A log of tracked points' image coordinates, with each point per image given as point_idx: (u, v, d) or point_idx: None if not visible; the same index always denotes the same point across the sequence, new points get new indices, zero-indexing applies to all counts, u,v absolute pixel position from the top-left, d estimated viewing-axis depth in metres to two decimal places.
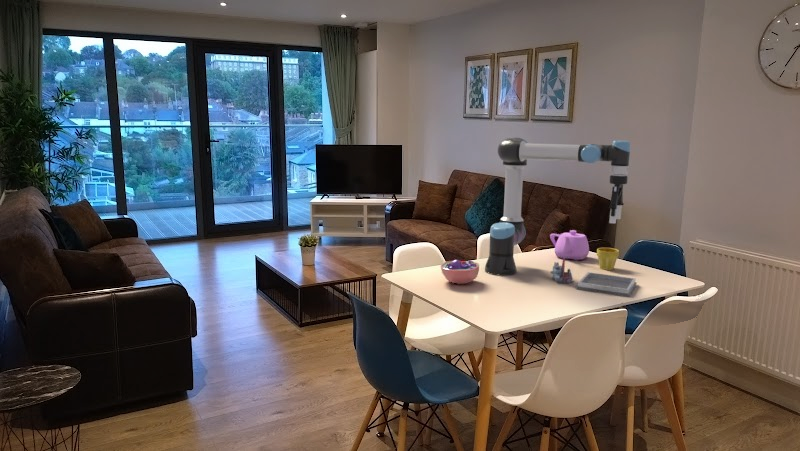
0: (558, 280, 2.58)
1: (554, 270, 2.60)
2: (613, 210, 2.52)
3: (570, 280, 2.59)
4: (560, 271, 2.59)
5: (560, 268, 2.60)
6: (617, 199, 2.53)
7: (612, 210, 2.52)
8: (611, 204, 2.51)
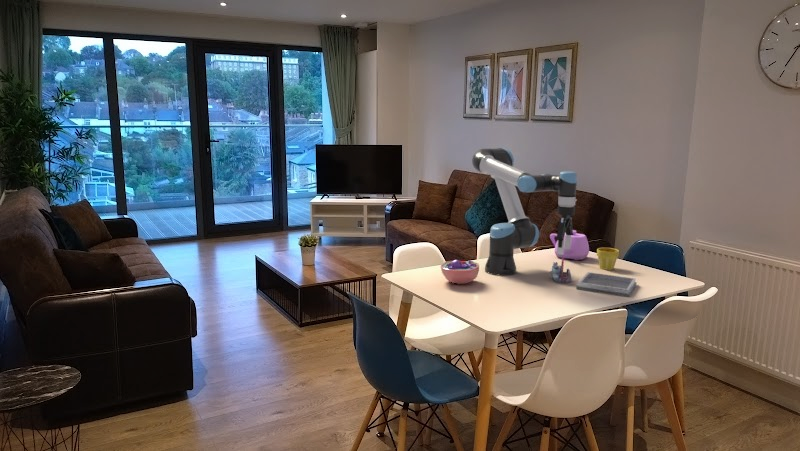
0: (557, 280, 2.59)
1: (553, 270, 2.60)
2: (560, 241, 2.51)
3: (569, 280, 2.59)
4: (559, 271, 2.59)
5: (559, 268, 2.60)
6: (564, 230, 2.52)
7: (559, 241, 2.51)
8: (558, 235, 2.50)
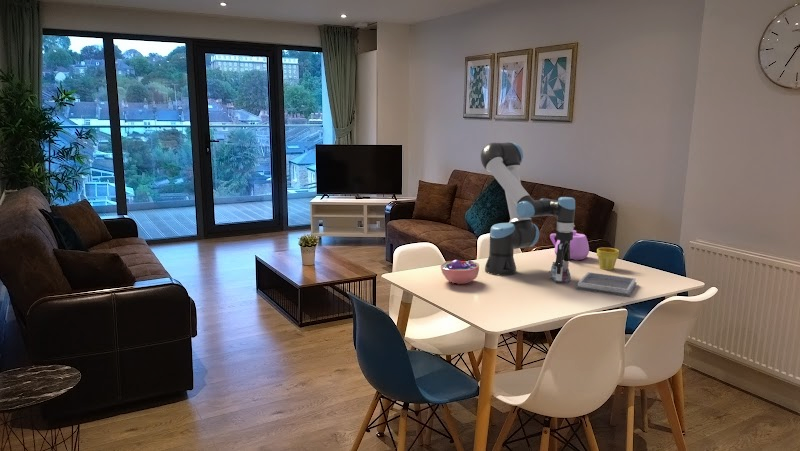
0: (556, 280, 2.59)
1: (552, 270, 2.60)
2: (559, 268, 2.54)
3: (568, 280, 2.59)
4: None
5: None
6: (563, 256, 2.55)
7: (558, 268, 2.55)
8: (556, 262, 2.53)
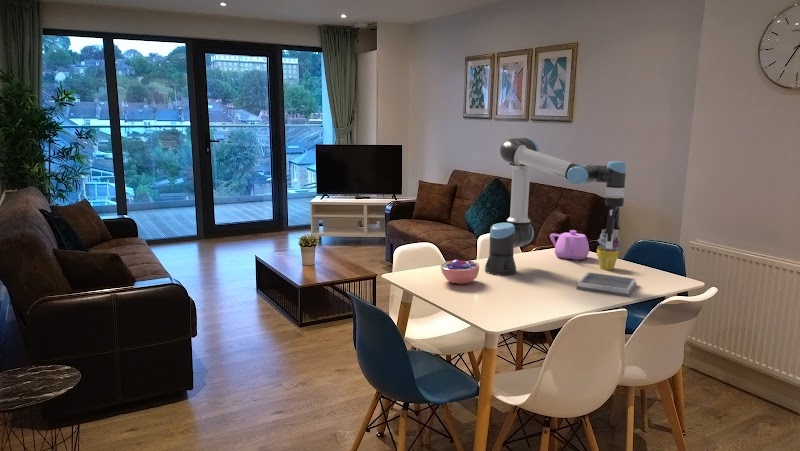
0: None
1: (602, 238, 2.49)
2: (609, 235, 2.43)
3: (619, 248, 2.47)
4: None
5: None
6: (613, 223, 2.43)
7: (608, 235, 2.43)
8: (607, 229, 2.41)
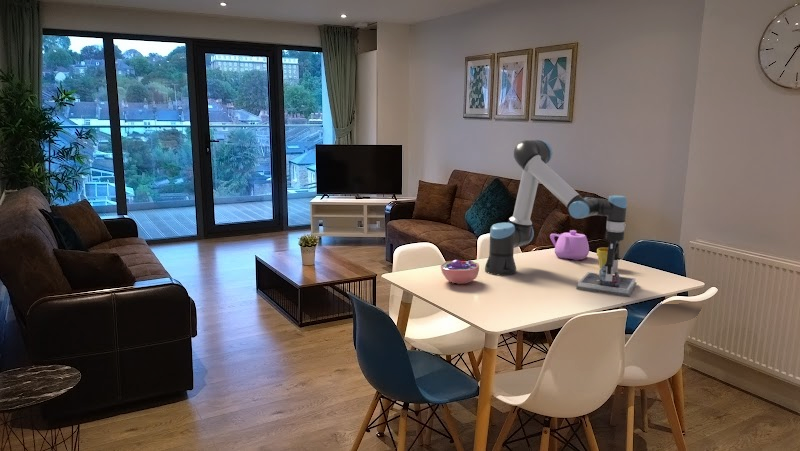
0: (605, 283, 2.50)
1: (601, 273, 2.51)
2: (609, 268, 2.44)
3: (618, 283, 2.50)
4: None
5: None
6: (613, 256, 2.45)
7: (608, 268, 2.44)
8: (607, 262, 2.43)
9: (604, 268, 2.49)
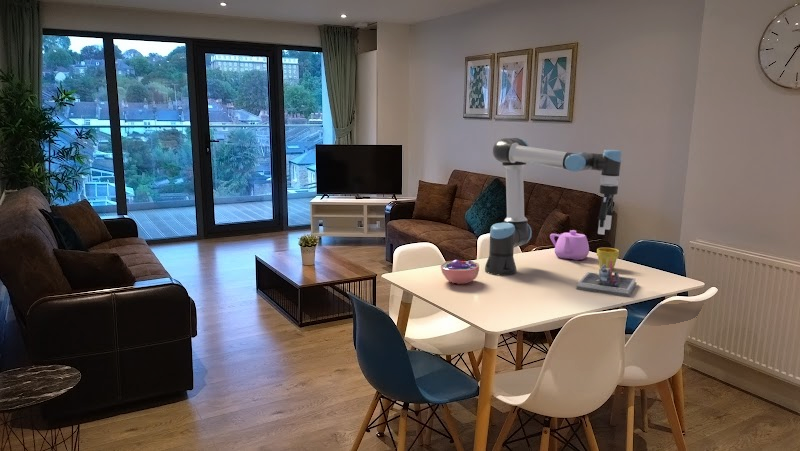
0: (605, 283, 2.50)
1: (601, 273, 2.51)
2: (602, 221, 2.46)
3: (618, 283, 2.50)
4: (607, 274, 2.50)
5: (607, 271, 2.51)
6: (606, 210, 2.48)
7: (601, 221, 2.47)
8: (600, 215, 2.45)
9: (604, 268, 2.50)
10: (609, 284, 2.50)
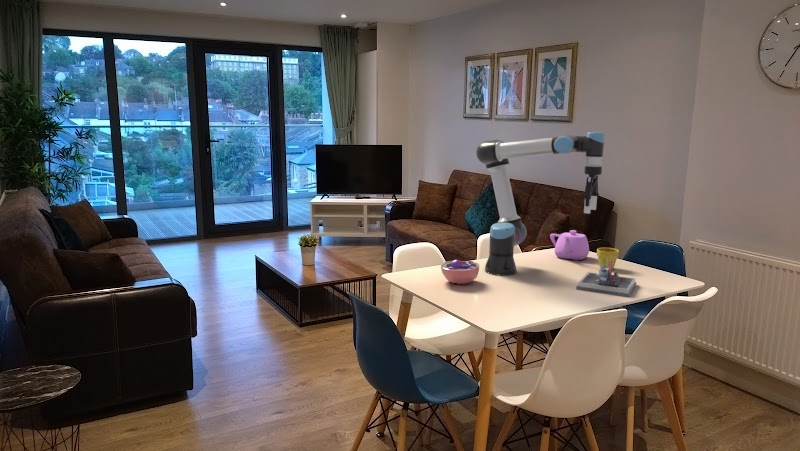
0: (605, 283, 2.50)
1: (600, 273, 2.52)
2: (587, 200, 2.56)
3: (617, 283, 2.50)
4: (607, 274, 2.51)
5: (607, 271, 2.51)
6: (591, 189, 2.57)
7: (586, 200, 2.56)
8: (585, 194, 2.54)
9: (603, 268, 2.50)
10: (609, 284, 2.50)
